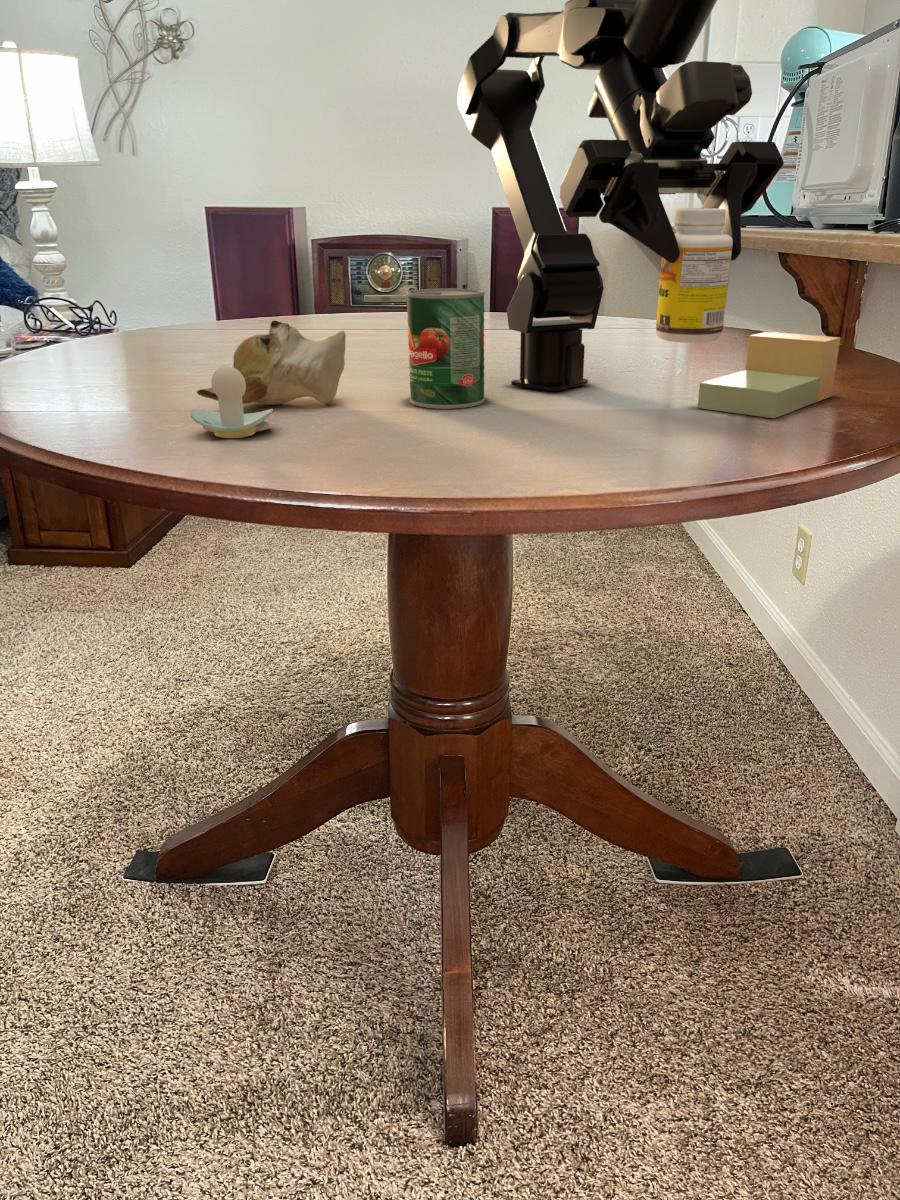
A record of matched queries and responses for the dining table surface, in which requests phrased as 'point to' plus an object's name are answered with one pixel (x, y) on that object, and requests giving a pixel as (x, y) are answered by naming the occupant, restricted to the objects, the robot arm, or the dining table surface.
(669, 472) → the dining table surface
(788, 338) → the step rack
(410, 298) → the canned tomato
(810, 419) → the dining table surface
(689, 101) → the robot arm
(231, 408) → the pacifier
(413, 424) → the dining table surface
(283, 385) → the ceramic sculpture
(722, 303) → the supplement bottle
